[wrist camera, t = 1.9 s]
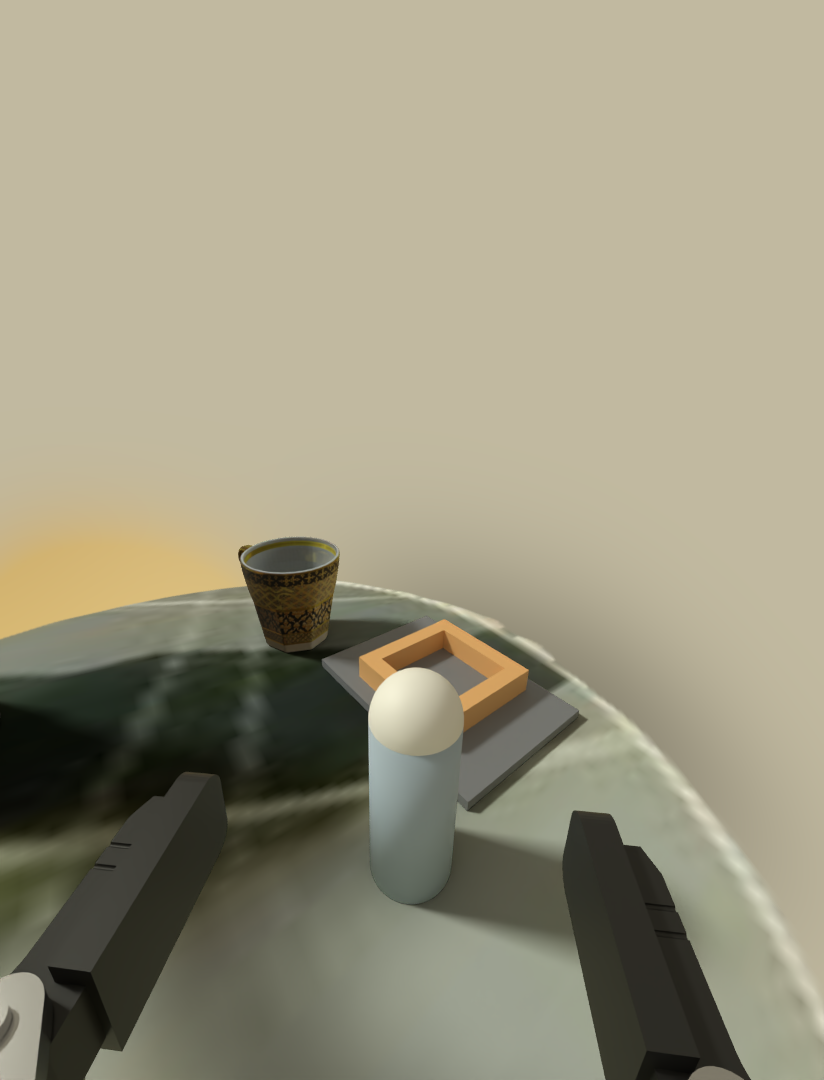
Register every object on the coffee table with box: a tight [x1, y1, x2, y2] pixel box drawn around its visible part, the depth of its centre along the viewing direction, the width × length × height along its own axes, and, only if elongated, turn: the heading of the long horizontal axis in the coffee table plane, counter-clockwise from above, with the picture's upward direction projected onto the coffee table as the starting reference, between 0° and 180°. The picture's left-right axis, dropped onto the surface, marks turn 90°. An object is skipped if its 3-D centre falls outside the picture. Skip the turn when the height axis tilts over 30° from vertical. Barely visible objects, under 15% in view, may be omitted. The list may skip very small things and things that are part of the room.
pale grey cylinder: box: [368, 668, 464, 904], centre depth 25 cm, size 5×5×14 cm
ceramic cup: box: [238, 537, 340, 652], centre depth 48 cm, size 13×10×10 cm
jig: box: [322, 616, 579, 810], centre depth 41 cm, size 20×14×3 cm
